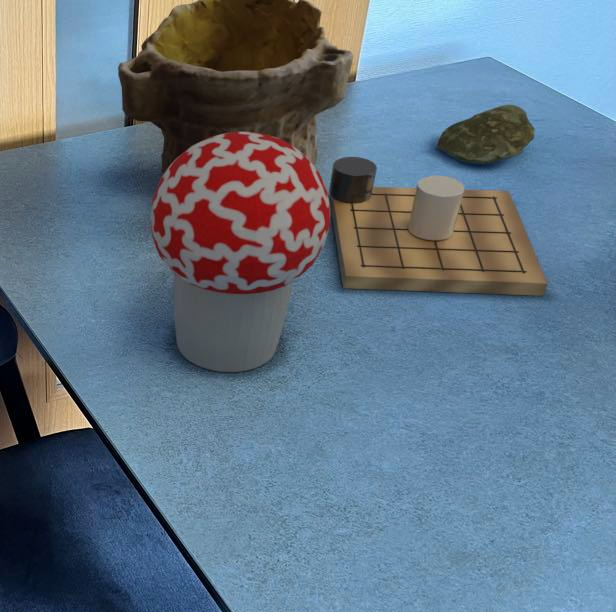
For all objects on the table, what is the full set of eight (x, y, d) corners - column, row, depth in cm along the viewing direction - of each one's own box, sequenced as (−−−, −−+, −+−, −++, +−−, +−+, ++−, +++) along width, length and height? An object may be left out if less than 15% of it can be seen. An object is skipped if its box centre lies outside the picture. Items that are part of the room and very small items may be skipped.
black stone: (369, 184, 119) (374, 157, 117) (373, 203, 116) (379, 176, 113) (327, 182, 119) (331, 156, 117) (330, 202, 116) (334, 175, 114)
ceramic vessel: (216, 217, 100) (143, -48, 96) (127, 267, 123) (66, 54, 119) (407, 165, 106) (346, -86, 103) (289, 222, 129) (235, 19, 126)
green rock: (425, 138, 127) (479, 66, 124) (432, 161, 133) (484, 92, 131) (495, 179, 123) (552, 105, 121) (499, 200, 130) (553, 131, 127)
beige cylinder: (449, 219, 113) (460, 175, 109) (456, 241, 109) (468, 197, 106) (404, 218, 113) (414, 174, 110) (410, 239, 110) (420, 195, 106)
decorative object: (117, 324, 102) (120, 123, 88) (251, 286, 107) (275, 90, 93) (196, 410, 92) (213, 200, 78) (341, 365, 97) (382, 158, 82)
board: (505, 202, 119) (509, 189, 117) (543, 296, 104) (548, 282, 103) (328, 197, 120) (331, 184, 119) (343, 288, 106) (345, 274, 105)
